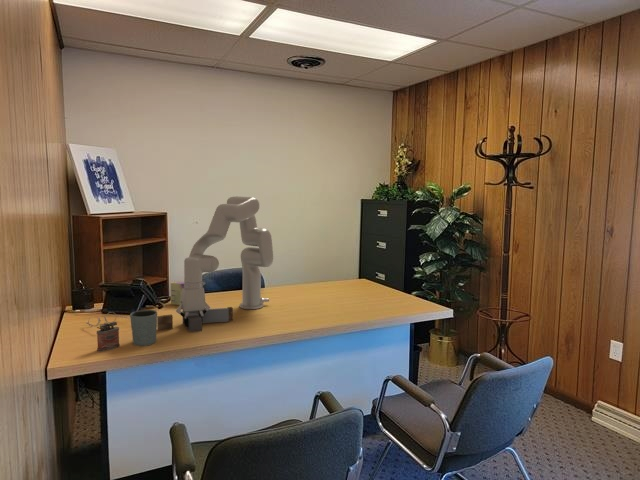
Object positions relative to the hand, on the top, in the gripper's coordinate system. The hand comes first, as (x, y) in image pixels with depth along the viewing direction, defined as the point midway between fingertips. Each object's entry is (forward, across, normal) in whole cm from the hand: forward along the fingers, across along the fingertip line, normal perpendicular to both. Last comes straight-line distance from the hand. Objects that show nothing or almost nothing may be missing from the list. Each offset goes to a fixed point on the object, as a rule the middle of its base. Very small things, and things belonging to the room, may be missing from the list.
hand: (193, 325), depth 189 cm
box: (+1, -6, -43) cm, 43 cm away
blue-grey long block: (+1, -7, -5) cm, 9 cm away
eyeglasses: (+2, +31, -17) cm, 35 cm away
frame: (+1, -3, -4) cm, 5 cm away
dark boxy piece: (+2, 0, 0) cm, 2 cm away
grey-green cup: (+2, +22, +8) cm, 23 cm away
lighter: (+2, +35, +9) cm, 36 cm away
